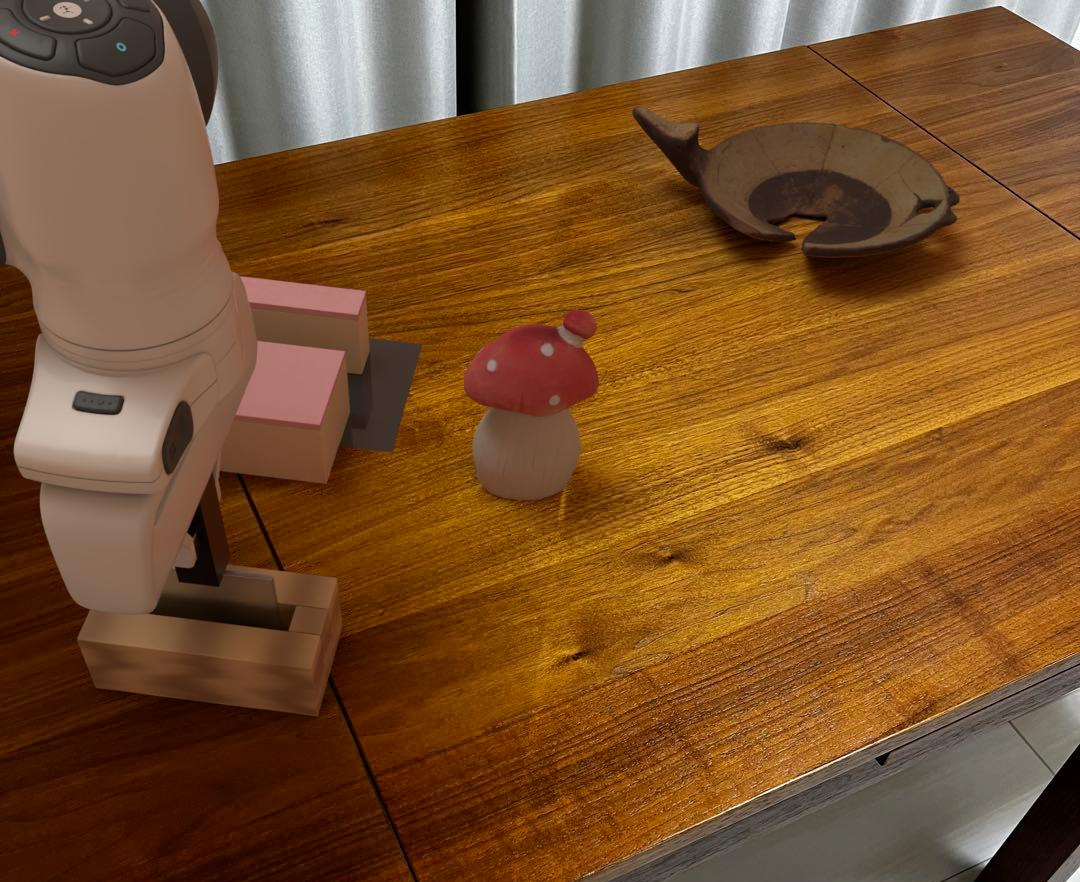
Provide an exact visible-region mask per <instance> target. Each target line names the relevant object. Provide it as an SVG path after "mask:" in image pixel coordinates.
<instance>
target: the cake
mask: <svg viewBox="0 0 1080 882" xmlns="http://www.w3.org/2000/svg"><path fill="white" fill-rule="evenodd" d="M257 343H258V349H257V362H256V367H255V370H254V372H253V375H252V377H251V379H250V382H249V384H248V387H247V389H246V391H245V394H244V396H243V399H242V401H241V403H240V406H239V408H238V411H237V413H236V415H235V418H234V420H233V423H232V425H231V427H230V430H229V432H228V435H227V437H226V439H225V442H224V444H223V447H222V450H221V461H220V471H219V472H225V473H234V474H241V475H250V476H259V477H267V478H273V479H283V480H290V481H291V480H292V481H297V482H298V481H299V482H300V481H301V482H307V483H308V482H309V483H315V484H322V485H323V484H324V485H326V484H328V480H329V478H330V474H331V472H332V469H333V465H334V461H335V459H336V456H337V453H338V449H339V447H340V446H339V445H340V441H341V438H342V435H343V432H344V429H345V426H346V423H347V420H348V417H349V414H350V403H349V391H348V379H347V366H346V355H345V351H338V350H330V349H321V348H313V347H304V346H296V345H287V344H279V343H271V342H262V341H257Z"/></svg>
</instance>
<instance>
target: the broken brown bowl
mask: <svg viewBox="0 0 1080 882" xmlns="http://www.w3.org/2000/svg"><path fill="white" fill-rule="evenodd" d="M631 111H632V117H633V119H634V120H635V121H636V123H637V124H638V126H639V127H640V128H641V129H642V130H643V132H644V133H645V134H646V135H647V136H648V137H649V138H650V140H651V141H652V142H653V143H654V144H655V145H656V147H658V149H659V150H660V151H661V152H662V153H663V154H664V156H665V157H666V158H667V160H668V161H669V162H670V163H671V164H672V166H673V168H675V169H676V171H677V172H678V173H679V175H680V176H681V177H682V178H683V179H684V180H685V181H686V182H687V183H689V184H690V185H692V186H694V187H696V188H700V190H701V194H702V196H703V200H704V201H705V202H706V204H707V205H708V207H709V208H710V209H711V210H712V212H713V213H714V214H715V215H716V216H717V217H718V218H720V219H721V220H722V221H723V222H724V223H726V224H727V225H728V226H730V227H731V228H733V229H734V230H736V231H738V232H740V233H742V234H744V235H746V236H748V237H750V238H754V239H758V240H762V241H768V242H771V243H773V242H775V243H777V242H779V243H785V242H788V243H789V242H792V241H796V240H797V237H796V236H797V233H794V232H792V231H789V230H786V228H781V227H779V226H775V225H774V224H777V223H780V222H782V221H784V220H786V219H788V218H789V217H792V216H802V217H811V218H812V217H813V218H824V219H826V220H825V221H823V222H822V223H821V224H818V225H817V227H816V228H814V229H813V230H812V231H810V232H809V233H808V234H807V235H806V236H805V237H804V238H803V240H802V243H801V252H802V254H803V255H804V256H807V257H813V258H831V259H832V258H833V259H835V258H839V259H840V258H858V257H859V258H860V257H867V256H875V255H881V254H886V253H890V252H893V251H896V250H899V249H903V248H905V247H906V248H907V247H909V246H912V245H914V244H918V243H920V242H921V241H924V240H926V239H927V238H929V237H930V236H932V235H933V234H935V232H937V231H938V230H940V229H942V228H945V227H946V228H947V227H949V226H951V225H953V224H955V223H956V222H957V221H958V216H957V215H956V214H955V213H954V212H953V210H952V208H953V207H954V206H957V205H958V204H960V203H959V202H960V197H961V196H960V195H959V193H958V192H957V191H956V190H955V189H954V188H952V187H950V186H949V185H947V184H946V182H945V179H944V177H943V175H941V173H940V172H939V170H938V169H937V168H935V167H934V165H933V164H932V163H931V162H930V161H929V160H928V159H926V158H925V157H924V156H923V155H921V154H920V153H918V152H916V151H915V150H914V149H912V148H911V147H909V146H907V145H905V144H903V143H901V142H900V141H897V140H896V139H893V138H890V137H888V136H885V135H883V134H881V133H879V132H876V131H872V130H869V129H867V128H862V127H848V126H847V125H845V124H836V123H831V122H830V123H826V122H809V121H807V122H802V121H801V122H786V123H785V122H784V123H779V124H772V125H764V126H760V127H757V128H756V127H755V128H752V129H748V130H745V131H740V132H738V133H736V134H733V135H731V136H729V137H726V138H725V139H724V140H722V141H720V142H719V143H718V144H715V146H714V147H712V148H711V149H706V148H704V147H703V146H701V145H700V143H699V134H700V124H699V123H698V122H687V123H679V122H674V121H671V120H668V119H666V118H664V117H661V116H659V115H658V114H657V113H656V112H653V111H651V110H650V109H648V108H646V107H644V106H641V105H638V106H637V105H636V106H634V107H633V108H632V110H631ZM930 208H933V209H932V210H931V211H929V212H922V213H919V212H920V211H921V210H924V209H930ZM918 213H919V214H918Z"/></svg>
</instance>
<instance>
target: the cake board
mask: <svg viewBox="0 0 1080 882" xmlns="http://www.w3.org/2000/svg"><path fill="white" fill-rule="evenodd" d="M422 348H423V344H422V343H418V342H417V343H416V342H407V341H399V340H391V339H382V338H373V337H369V350H370V351H369V354H368V357H367V361H366V364H365V367H364V370H363V373H362V374H352V373H347V379H348V391H349V403H350V414H349V417H348V420H347V423H346V426H345V429H344V432H343V435H342V438H341V441H340V445H339V447H344V448H352V449H353V448H354V449H360V450H368V451H369V450H370V451H375V452H377V451H378V452H385V453H393V451H394V448H395V443H396V440H397V438H398V434H399V430H400V426H401V422H402V418H403V415H404V412H405V408H406V404H407V401H408V397H409V393H410V390H411V387H412V383H413V379H414V375H415V372H416V369H417V365H418V361H419V359H420V358H419V357H420V354H421V350H422Z"/></svg>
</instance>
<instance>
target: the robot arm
mask: <svg viewBox="0 0 1080 882" xmlns="http://www.w3.org/2000/svg"><path fill="white" fill-rule="evenodd" d="M218 80H219V50H218V43H217V38H216V34H215V31H214V27H213V24H212V22H211V19H210V17H209V15H208V13H207V11H206V9H205V6H204V5H203V3H202V2H201V0H0V268H3V267H4V266H5V265H9V266H11V267H14V268H16V269H18V270H19V271H20V272H22V274H23V275H24V276H25V277H26V278H27V280H28V282H29V284H30V287H31V293H32V304H33V310H34V313H35V315H36V318H37V322H38V325H39V328H40V331H41V333H40V334H38V336H37V339H36V341H35V351H34V363H33V365H34V366H33V373H32V378H31V382H30V383H31V384H30V387H29V393H28V397H27V400H26V405H25V407H24V410H23V414H22V417H21V420H20V424H19V427H18V430H17V433H16V436H15V439H14V443H13V456H14V457H13V458H14V461H15V464H16V466H17V469H18V471H19V473H20V475H21V476H22V477H23V478H24V479H26V480H31V481H35V482H39V483H41V484H40V489H39V491H40V492H39V510H40V518H41V522H42V526H43V529H44V533H45V536H46V538H47V542H48V545H49V549H50V550H51V553H52V556H53V559H54V561H55V565H56V566H57V568H58V572H59V573H60V576H61V579H62V581H63V583H64V585H65V587H66V590H67V591H68V592H67V593H68V594H69V595H70V597H71V599H72V600H73V601H74V602H75V603H76V604H77V605H79V606H81V608H82V607H83V608H84V609H86V610H87V609H88V610H90V609H91V610H95V611H100V612H107V613H114V614H125V615H141V614H148V613H150V612H152V611H153V610H154V609H155V607H156V606H157V604H158V601H159V598H160V596H161V593H162V591H163V588H164V586H165V584H166V581H167V579H168V576H169V574H170V572H171V569H172V567H173V566H174V567H182V568H192V567H193V566H194V564H195V562H196V559H197V557H198V554H199V552H200V549H201V546H202V545H201V542H200V536H199V532H198V529H194V528H189V526H190V524H191V521H192V519H193V516H194V514H195V512H196V509H197V507H198V504H199V502H200V499H201V497H202V495H203V492H204V490H205V487H206V485H207V483H208V480H209V478H210V475H211V473H212V472H213V477H214V481H215V486H216V491H217V495H218V500H219V503H220V502H221V499H222V491H221V486H220V481H219V479H220V472H221V471H220V461H221V450H222V447H223V444H224V442H225V439H226V437H227V435H228V432H229V430H230V427H231V425H232V423H233V420H234V418H235V415H236V413H237V411H238V408H239V406H240V403H241V401H242V399H243V396H244V394H245V391H246V389H247V387H248V384H249V382H250V379H251V377H252V375H253V372H254V370H255V367H256V362H257V349H258V343H257V336H256V331H255V327H254V322H253V317H252V313H251V309H250V305H249V301H248V297H247V293H246V290H245V287H244V284H243V282H242V280H241V278H240V276H241V275H239V273H237V272H235V271H232V270H231V266H230V263H229V260H228V258H227V256H226V254H225V252H224V250H223V247H222V244H221V241H219V240H218V236H217V221H218V216H219V211H220V196H219V188H218V181H217V176H216V170H215V165H214V158H213V153H212V147H211V142H210V137H209V135H208V134H209V133H208V130H207V126H208V124H209V122H210V119H211V116H212V113H213V109H214V104H215V101H216V95H217V91H218V83H219V82H218Z"/></svg>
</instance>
